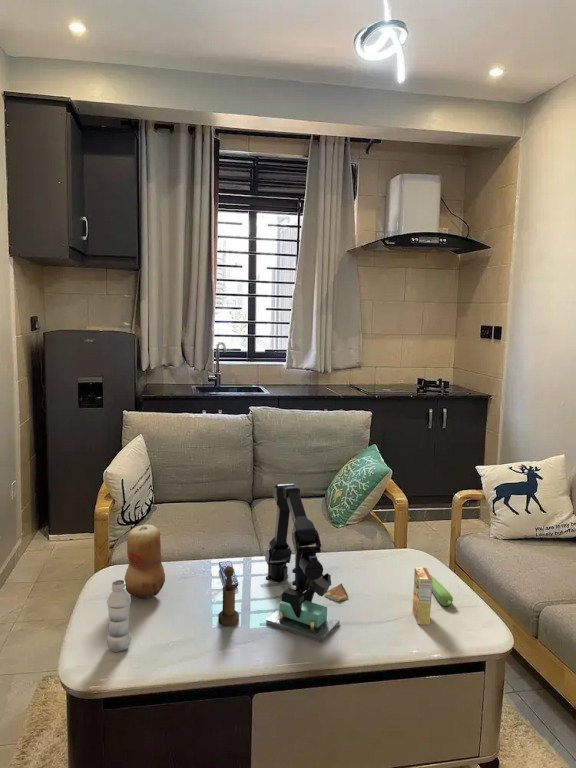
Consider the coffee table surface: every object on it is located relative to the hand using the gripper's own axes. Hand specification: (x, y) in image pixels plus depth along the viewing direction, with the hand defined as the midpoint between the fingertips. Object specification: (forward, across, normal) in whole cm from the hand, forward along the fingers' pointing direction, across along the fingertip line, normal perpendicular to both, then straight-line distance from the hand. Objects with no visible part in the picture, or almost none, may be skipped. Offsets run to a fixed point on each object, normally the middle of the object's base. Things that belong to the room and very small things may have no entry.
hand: (303, 612), depth 180 cm
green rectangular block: (+1, 0, 0) cm, 1 cm away
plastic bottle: (+4, -40, +39) cm, 56 cm away
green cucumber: (+4, +43, -31) cm, 53 cm away
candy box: (+4, +24, -31) cm, 39 cm away
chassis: (+4, 0, 0) cm, 4 cm away
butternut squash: (+4, -13, +55) cm, 57 cm away
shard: (+4, +24, 0) cm, 24 cm away
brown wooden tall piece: (+4, -11, +21) cm, 24 cm away
